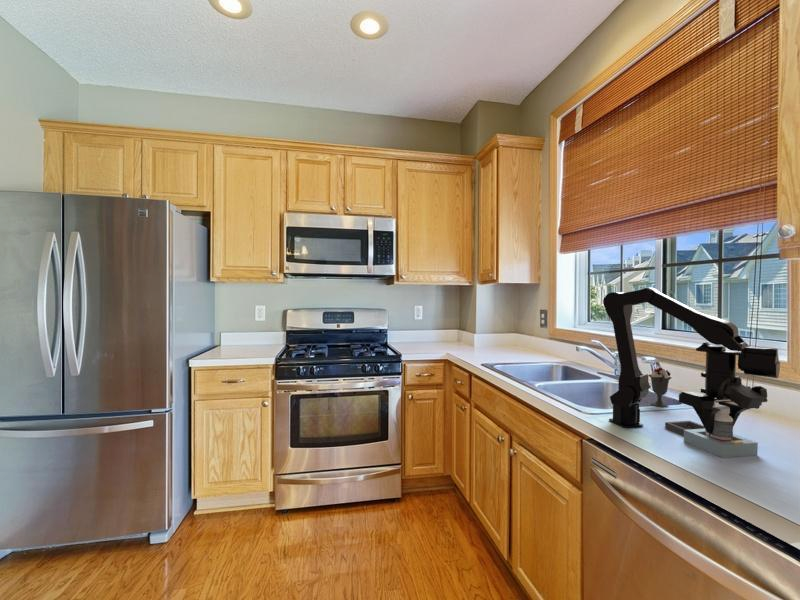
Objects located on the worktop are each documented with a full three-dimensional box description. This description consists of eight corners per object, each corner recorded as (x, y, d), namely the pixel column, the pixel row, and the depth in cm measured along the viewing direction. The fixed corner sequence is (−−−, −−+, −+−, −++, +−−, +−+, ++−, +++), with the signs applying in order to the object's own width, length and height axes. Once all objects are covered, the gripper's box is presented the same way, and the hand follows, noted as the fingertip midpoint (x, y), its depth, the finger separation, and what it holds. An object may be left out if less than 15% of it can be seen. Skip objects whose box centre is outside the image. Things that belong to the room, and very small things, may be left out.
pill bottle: (738, 446, 90) (738, 410, 89) (713, 444, 91) (714, 408, 91) (723, 437, 95) (724, 403, 95) (700, 436, 96) (701, 402, 96)
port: (723, 458, 87) (723, 444, 87) (683, 441, 97) (683, 428, 97) (757, 454, 89) (757, 441, 89) (715, 438, 99) (715, 426, 98)
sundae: (648, 406, 127) (648, 362, 127) (647, 401, 133) (648, 360, 132) (671, 409, 123) (672, 365, 123) (670, 404, 129) (671, 361, 129)
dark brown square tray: (692, 439, 98) (693, 433, 98) (665, 427, 107) (665, 422, 106) (718, 437, 100) (719, 431, 100) (689, 425, 108) (689, 420, 108)
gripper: (722, 379, 83) (721, 448, 83) (788, 376, 86) (786, 442, 86) (677, 369, 94) (676, 430, 94) (737, 367, 97) (735, 425, 97)
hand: (718, 432), depth 93 cm, fingers closed on pill bottle, 5 cm apart
